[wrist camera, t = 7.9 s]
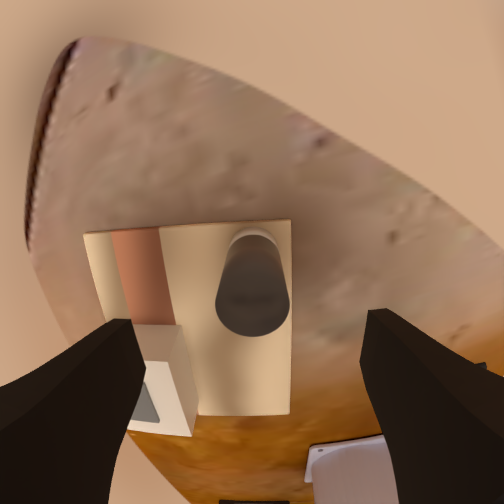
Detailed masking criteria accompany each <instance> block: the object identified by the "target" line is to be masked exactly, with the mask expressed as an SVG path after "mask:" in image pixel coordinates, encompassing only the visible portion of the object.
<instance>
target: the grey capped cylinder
mask: <svg viewBox="0 0 504 504" xmlns="http://www.w3.org/2000/svg"><path fill="white" fill-rule="evenodd" d="M215 309H216V313H217V316H218V318H219V320H220V321H221V323H222V324H223V325H224V326H225V327H226V328H227V329H229V330H230V331H232V332H234V333H236V334H238V335H241V336H246V337H259V336H264V335H267V334H269V333H272V332H273V331H275V330H276V329H278V328H279V327H280V326H281V325H282V324H283V323H284V321H285V320H286V318H287V316H288V313H289V309H290V300H289V295H288V290H287V286H286V281H285V276H284V272H283V267H282V262H281V258H280V253H279V249H278V244H277V241H276V239H275V238H274V236H273V235H272V234H271V233H270V232H269V231H267V230H265V229H263V228H260V227H247V228H244V229H242V230H240V231H238V232H237V233H236V234H235V235H234V236H233V238H232V239H231V242H230V245H229V249H228V252H227V256H226V260H225V264H224V268H223V272H222V276H221V279H220V283H219V287H218V291H217V295H216V299H215Z"/></svg>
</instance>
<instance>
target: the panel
mask: <svg viewBox="0 0 504 504" xmlns="http://www.w3.org/2000/svg"><path fill="white" fill-rule="evenodd" d="M247 227H260V228H263V229H265V230H267V231H269V232H270V233H271V234H272V235H273V236H274V238H275V239H276V241H277V244H278V249H279V253H280V258H281V262H282V267H283V272H284V276H285V281H286V286H287V290H288V295H289V300H290V309H289V313H288V316H287V318H286V320H285V321H284V323H283V324H282V325H281V326H280V327H279V328H278V329H276V330H275V331H273V332H272V333H269V334H267V335H264V336H259V337H246V336H241V335H238V334H236V333H234V332H232V331H230V330H229V329H227V328H226V327H225V326H224V325H223V324H222V323H221V321H220V320H219V318H218V316H217V313H216V309H215V299H216V295H217V291H218V287H219V283H220V279H221V276H222V272H223V268H224V264H225V260H226V256H227V252H228V249H229V245H230V242H231V239H232V238H233V236H234V235H235V234H236V233H237V232H238V231H240V230H242V229H244V228H247ZM83 237H84V242H85V246H86V251H87V255H88V259H89V263H90V267H91V271H92V275H93V279H94V283H95V286H96V290H97V293H98V297H99V300H100V303H101V307H102V310H103V313H104V316H105V319H106V323H107V322H109V321H110V320H112V319H114V318H117V319H131V321H132V324H143V325H181V326H182V330H183V335H184V340H185V344H186V349H187V353H188V357H189V362H190V366H191V370H192V374H193V378H194V382H195V386H196V390H197V394H198V398H199V404H198V409H197V414H196V415H215V416H258V415H282V414H289V411H290V381H291V332H292V256H291V220H290V219H279V220H257V221H238V222H220V223H204V224H188V225H174V226H160V227H147V228H134V229H122V230H110V231H99V232H88V233H85V234H83Z"/></svg>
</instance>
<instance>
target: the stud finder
mask: <svg viewBox="0 0 504 504" xmlns="http://www.w3.org/2000/svg"><path fill="white" fill-rule="evenodd" d="M133 328H134V331H135V334H136V338H137V341H138V344H139V347H140V350H141V353H142V356H143V359H144V362H145V365H146V372H145V377H144V381H143V385H142V389H141V393H140V396H139V399H138V402H137V404H136V407H135V409H134V412H133V415H132V417H131V420H130V422H129V425H128V427H127V429H129V430H136V431H143V432H150V433H158V434H167V435H178V436H190V437H192V434H193V429H194V424H195V419H196V414H197V409H198V404H199V398H198V394H197V390H196V386H195V382H194V378H193V374H192V370H191V366H190V362H189V357H188V353H187V349H186V344H185V340H184V335H183V330H182V326H181V325H143V324H133Z"/></svg>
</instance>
